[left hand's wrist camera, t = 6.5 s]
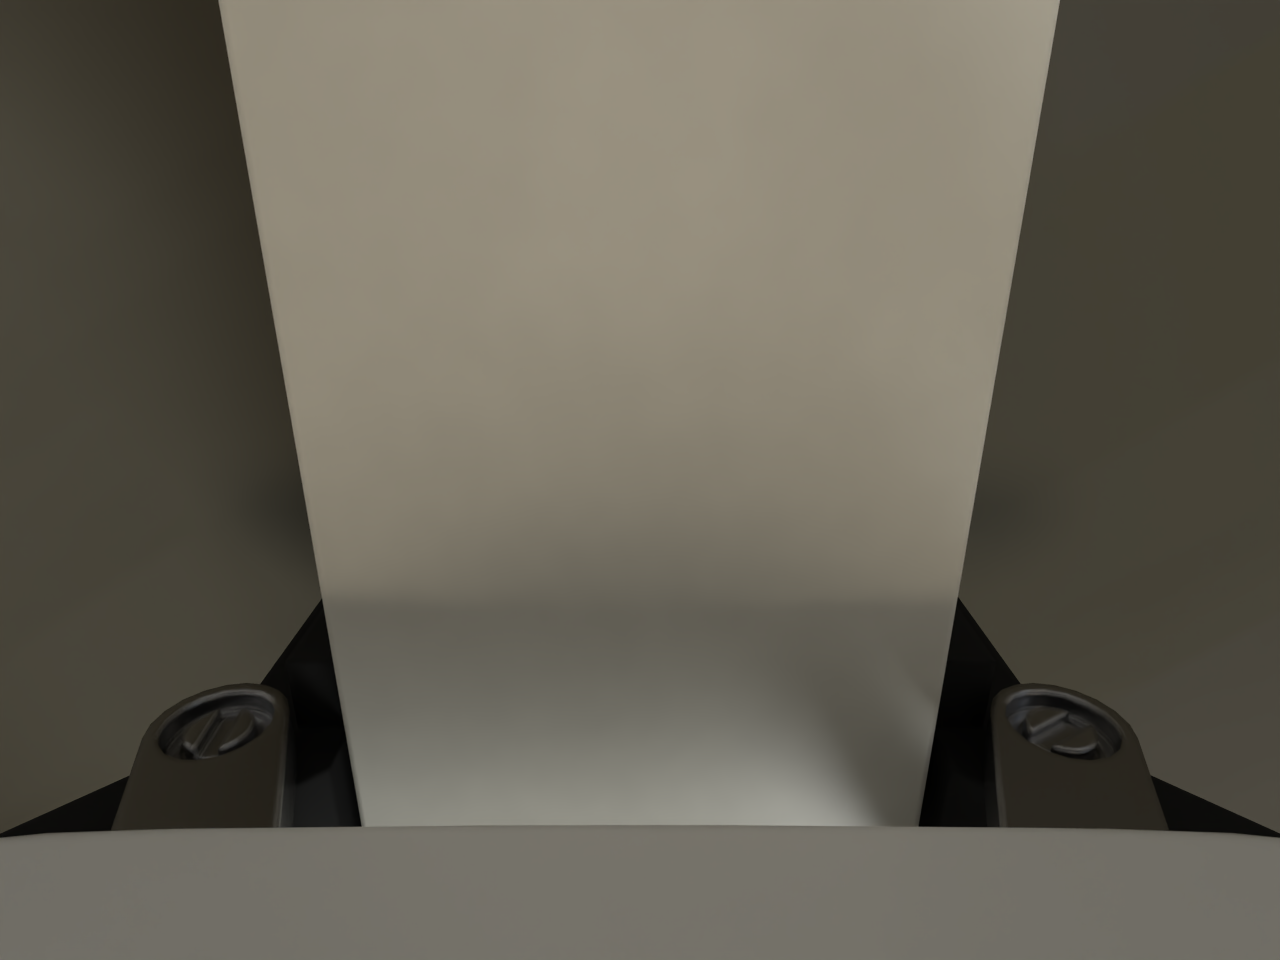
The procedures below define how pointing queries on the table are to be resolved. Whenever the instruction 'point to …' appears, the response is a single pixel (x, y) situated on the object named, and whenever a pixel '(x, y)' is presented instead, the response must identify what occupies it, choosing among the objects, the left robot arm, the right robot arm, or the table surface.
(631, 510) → the post
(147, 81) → the table surface
